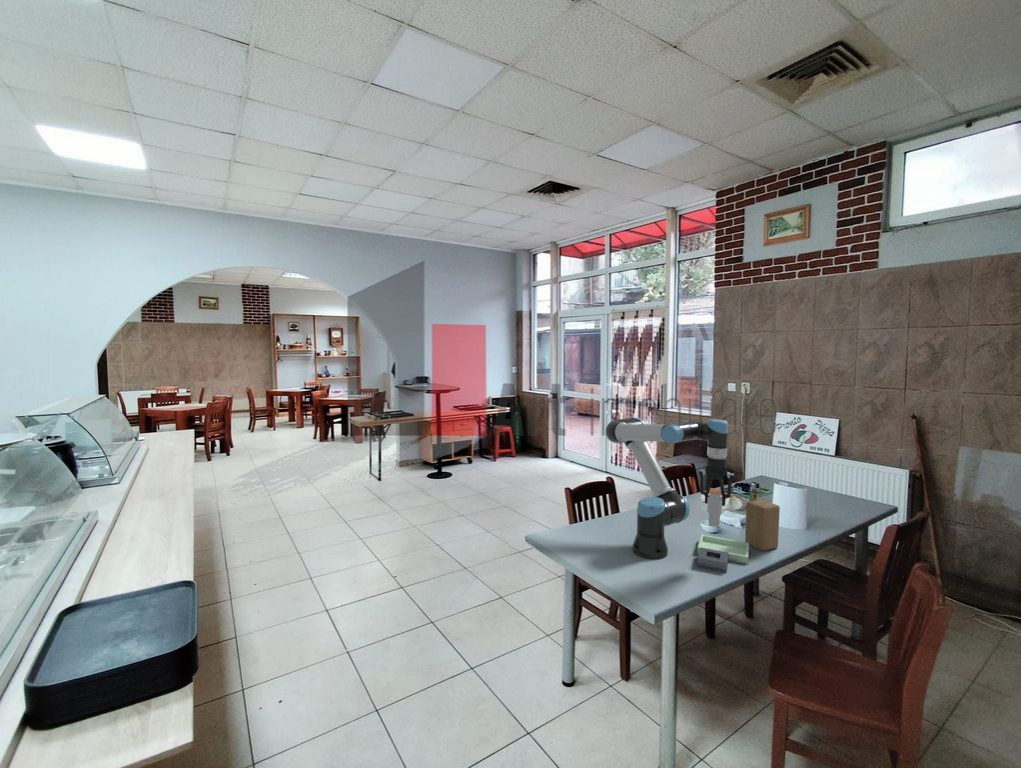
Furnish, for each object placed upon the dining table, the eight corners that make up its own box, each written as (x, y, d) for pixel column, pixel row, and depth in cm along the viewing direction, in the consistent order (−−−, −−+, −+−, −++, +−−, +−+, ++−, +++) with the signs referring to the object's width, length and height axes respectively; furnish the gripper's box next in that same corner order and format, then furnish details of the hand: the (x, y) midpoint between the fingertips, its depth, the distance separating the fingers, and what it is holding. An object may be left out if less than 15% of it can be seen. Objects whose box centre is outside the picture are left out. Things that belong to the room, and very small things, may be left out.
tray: (697, 554, 206) (697, 547, 206) (701, 540, 220) (701, 534, 220) (748, 564, 197) (748, 557, 197) (748, 549, 211) (748, 542, 211)
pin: (707, 526, 195) (708, 490, 193) (708, 522, 199) (710, 487, 197) (719, 528, 192) (721, 492, 191) (720, 524, 197) (721, 489, 195)
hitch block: (697, 566, 195) (697, 557, 194) (700, 556, 204) (700, 547, 204) (726, 572, 189) (727, 563, 189) (728, 561, 199) (728, 552, 199)
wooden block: (744, 543, 218) (745, 501, 216) (760, 539, 221) (761, 498, 220) (762, 551, 208) (764, 508, 207) (778, 548, 212) (780, 505, 210)
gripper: (693, 456, 194) (691, 511, 196) (739, 461, 186) (736, 518, 188) (695, 453, 200) (693, 506, 202) (740, 457, 192) (737, 512, 194)
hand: (714, 512), depth 195 cm, fingers closed on pin, 4 cm apart
